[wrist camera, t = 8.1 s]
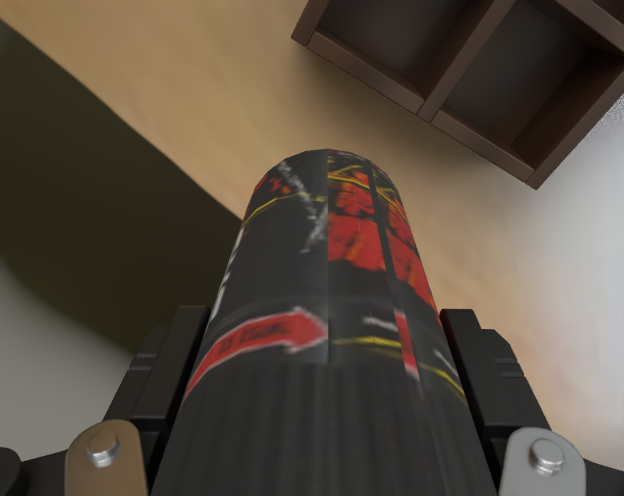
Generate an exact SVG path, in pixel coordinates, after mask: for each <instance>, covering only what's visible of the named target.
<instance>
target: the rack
mask: <svg viewBox="0 0 624 496" xmlns="http://www.w3.org/2000/svg"><path fill="white" fill-rule="evenodd" d="M291 38H292V39H293V40H295V41H296V42H298V43H300V44H301V45H303V46H305V47H306V46H307V48H308V49H309V50H311V51H312V52H314V53H316V54H317V55H319V56H321V57H322V58H324V59H325V60H327V61H329V62H330V63H332V64H333V65H335V66H337V67H338V68H340V69H342V70H343V71H345V72H346V73H348V74H350V75H351V76H353V77H354V78H356V79H358V80H359V81H361V82H362V83H364V84H366V85H367V86H369V87H371V88H372V89H374V90H375V91H377V92H379V93H380V94H382V95H383V96H385V97H387V98H388V99H390V100H392V101H393V102H395V103H396V104H398V105H400V106H401V107H403V108H404V109H406V110H408V111H409V112H411V113H413V114H414V115H416V116H417V117H419V118H421V119H422V120H424V121H425V122H427V123H430V125H432V126H434V127H435V128H437V129H438V130H440V131H442V132H443V133H445V134H446V135H448V136H450V137H451V138H453V139H455V140H456V141H458V142H459V143H461V144H463V145H464V146H466V147H467V148H469V149H471V150H472V151H474V152H476V153H477V154H479V155H480V156H482V157H484V158H485V159H487V160H488V161H490V162H492V163H493V164H495V165H496V166H498V167H500V168H501V169H503V170H505V171H506V172H508V173H509V174H511V175H513V176H514V177H516V178H517V179H519V180H521V181H522V182H524V183H525V184H527V185H529V186H530V187H532V188H533V189H535V190H537V189H538V188H539V187H540V186H541V185H542V184H543V182H544V181H545V180H546V179H547V178H548V177H549V176H550V175H551V174H552V172H553V171H554V170H555V169H556V168H557V167H558V166H559V165H560V164H561V162H562V161H563V160H564V159H565V158H566V157H567V156H568V155H569V154H570V152H571V151H572V150H573V149H574V148H575V147H576V146H577V145H578V143H579V142H580V141H581V140H582V139H583V138H584V137H585V136H586V135H587V133H588V132H589V131H590V130H591V129H592V128H593V127H594V126H595V125H596V123H597V122H598V121H599V120H600V119H601V118H602V117H603V116H604V115H605V113H606V112H607V111H608V110H609V109H610V108H611V107H612V106H613V104H614V103H615V102H616V101H617V100H618V99H619V98H620V97H621V96H622V94H623V93H624V0H309V1H308V3H307V5H306V7H305V9H304V11H303V13H302V15H301V17H300V19H299V21H298V23H297V25H296V27H295V29H294V31H293V33H292V35H291Z"/></svg>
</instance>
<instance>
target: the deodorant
mask: <svg viewBox="0 0 624 496" xmlns="http://www.w3.org/2000/svg"><path fill="white" fill-rule="evenodd" d="M150 496H497V492H496V489H495V486H494V483H493V480H492V477H491V474H490V471H489V468H488V465H487V462H486V459H485V455H484V452H483V449H482V446H481V443H480V440H479V437H478V434H477V431H476V428H475V425H474V422H473V419H472V416H471V413H470V409H469V406H468V403H467V400H466V397H465V394H464V391H463V388H462V385H461V382H460V379H459V376H458V373H457V370H456V367H455V364H454V360H453V357H452V354H451V351H450V348H449V345H448V342H447V339H446V336H445V333H444V330H443V327H442V324H441V321H440V318H439V314H438V311H437V308H436V305H435V302H434V299H433V296H432V293H431V290H430V287H429V284H428V281H427V278H426V275H425V272H424V268H423V265H422V262H421V259H420V256H419V253H418V250H417V247H416V244H415V241H414V238H413V235H412V232H411V229H410V226H409V223H408V219H407V216H406V213H405V210H404V207H403V204H402V201H401V198H400V195H399V192H398V190H397V188H396V187H395V185H394V184H393V183H392V181H391V180H390V178H389V177H388V176H387V174H386V173H384V172H383V171H382V170H381V169H379V168H378V167H377V166H376V165H375V164H373V163H372V162H371V161H369V160H367V159H365V158H362V157H360V156H358V155H355V154H353V153H351V152H346V151H339V150H332V149H321V150H312V151H305V152H302V153H299V154H297V155H294V156H291V157H289V158H286V159H284V160H283V161H281V162H280V163H279V164H277V165H276V166H274V167H273V168H272V169H270V170H269V171H268V172H267V173H266V174H265V176H264V177H263V178H262V179H261V181H260V182H259V183H258V184H257V186H256V187H255V189H254V192H253V194H252V197H251V199H250V202H249V204H248V207H247V210H246V213H245V216H244V219H243V222H242V225H241V228H240V231H239V234H238V237H237V240H236V242H235V245H234V248H233V251H232V254H231V257H230V260H229V264H228V266H227V269H226V272H225V275H224V278H223V281H222V284H221V287H220V290H219V292H218V296H217V298H216V302H215V304H214V307H213V310H212V313H211V316H210V319H209V322H208V325H207V328H206V331H205V334H204V337H203V340H202V342H201V345H200V348H199V351H198V354H197V357H196V360H195V363H194V366H193V369H192V372H191V375H190V378H189V381H188V384H187V387H186V390H185V392H184V395H183V398H182V401H181V404H180V407H179V410H178V413H177V416H176V419H175V422H174V425H173V428H172V431H171V434H170V437H169V440H168V443H167V445H166V448H165V451H164V454H163V457H162V460H161V463H160V466H159V469H158V472H157V475H156V478H155V481H154V484H153V487H152V490H151V493H150Z"/></svg>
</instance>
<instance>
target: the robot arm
mask: <svg viewBox="0 0 624 496" xmlns="http://www.w3.org/2000/svg"><path fill="white" fill-rule="evenodd" d="M210 316H211V310H210V307H209V306H179V307H178V309H177V311H176V313H175V315H174V318H173V320H172V322H171V324H170V325H158V326H157V327H156V328H155V329H153V330H152V331H151V332H150V333H149V334H148V335H147V336H146V337H145V338H144V339H143V341H142V343H141V345H140V347H139V349H138V351H137V353H136V357H135V358H134V359H133V361H132V362H131V364H130V366H129V371H127V372H126V374H125V376H124V378H123V380H122V383H121V385H120V386H119V388H118V391H117V392H116V394H115V396H114V398H113V401H112V402H111V404H110V406H109V408H108V411H107V412H106V415H105V416H104V419H103V420H102V422H100V423H97V424H95V425H93V426H91V427H89V428H88V429H86V430H85V431H83V432H82V433H81V434H80V435H79V436H78V437H77V438H76V439H75V440H74V441H73V442H72V444H71V445H70V447H69V449H67V450H64V451H61V452H58V453H54V454H50V455H46V456H43V457H38V458H35V459H31V460H27V461H24V462H21V460H20V458H19V456H18V454H17V453H16V452H15V451H13V450H11V449H9V448H2V447H0V496H150V493H151V490H152V487H153V484H154V481H155V478H156V475H157V472H158V469H159V466H160V463H161V460H162V457H163V454H164V451H165V448H166V445H167V443H168V440H169V437H170V434H171V431H172V428H173V425H174V422H175V419H176V416H177V413H178V410H179V407H180V404H181V401H182V398H183V395H184V392H185V390H186V387H187V384H188V381H189V378H190V375H191V372H192V369H193V366H194V363H195V360H196V357H197V354H198V351H199V348H200V345H201V342H202V340H203V337H204V334H205V331H206V328H207V325H208V322H209V319H210ZM439 318H440V321H441V324H442V327H443V330H444V333H445V336H446V339H447V342H448V345H449V348H450V351H451V354H452V357H453V360H454V364H455V367H456V370H457V373H458V376H459V379H460V382H461V385H462V388H463V391H464V394H465V397H466V400H467V403H468V406H469V409H470V413H471V416H472V419H473V422H474V425H475V428H476V431H477V434H478V437H479V440H480V443H481V446H482V449H483V452H484V455H485V459H486V462H487V465H488V468H489V471H490V474H491V477H492V480H493V483H494V486H495V489H496V492H497V496H624V472H623V471H620V470H616V469H613V468H610V467H606V466H603V465H599V464H596V463H593V462H591V461H588V460H586V459H584V458H582V456H581V454H580V453H579V452H578V450H577V449H576V448H575V447H574V446H573V445H572V444H571V443H570V442H569V441H568V440H567V439H565V438H564V437H562V436H561V435H559V434H557V433H555V432H553V431H552V430H551V428H550V426H549V424H548V422H547V420H546V418H545V416H544V414H543V412H542V409H541V407H540V405H539V403H538V401H537V399H536V397H535V395H534V393H533V391H532V389H531V387H530V385H529V383H528V381H527V379H526V377H524V373H523V371H522V369H521V367H520V365H519V363H517V358H516V356H515V354H514V352H513V350H512V348H511V346H510V344H509V343H508V342H507V341H506V340H505V339H504V338H503V337H502V336H501V335H499V334H498V333H497V332H496V331H495V330H494V329H481V327H480V324H479V322H478V320H477V318H476V315H475V313H474V311H473V310H472V309H442V310H441V311H440V315H439Z"/></svg>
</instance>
